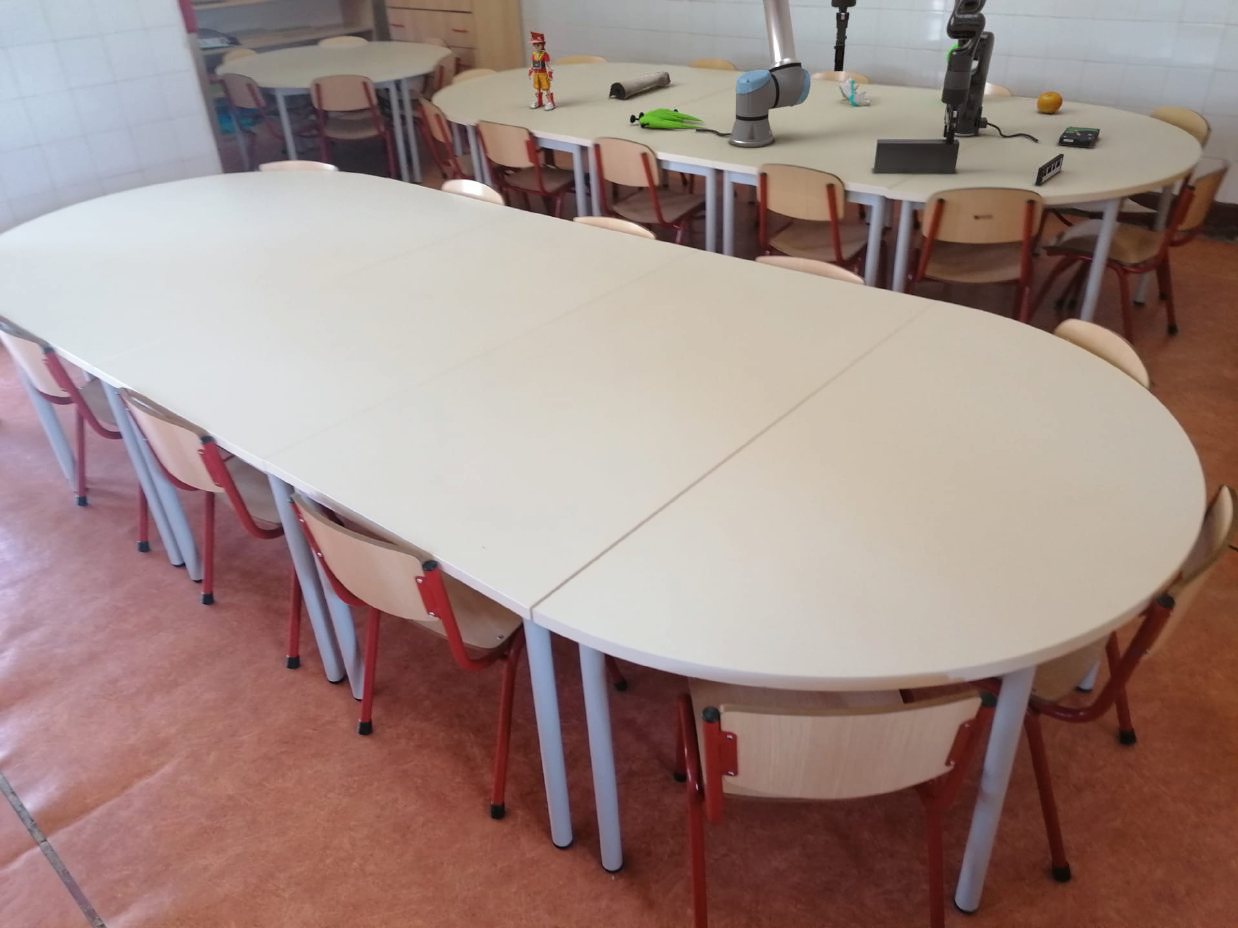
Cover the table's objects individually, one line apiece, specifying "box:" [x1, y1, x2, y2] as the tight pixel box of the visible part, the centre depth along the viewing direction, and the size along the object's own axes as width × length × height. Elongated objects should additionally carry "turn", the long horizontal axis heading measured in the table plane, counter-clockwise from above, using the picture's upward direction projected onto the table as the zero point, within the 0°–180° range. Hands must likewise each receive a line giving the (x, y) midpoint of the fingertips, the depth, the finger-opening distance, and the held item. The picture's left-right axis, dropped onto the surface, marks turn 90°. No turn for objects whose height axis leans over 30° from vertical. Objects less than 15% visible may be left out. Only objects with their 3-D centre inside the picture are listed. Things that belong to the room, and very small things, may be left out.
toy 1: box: [527, 31, 556, 111], centre depth 374 cm, size 12×9×30 cm
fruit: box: [1036, 91, 1064, 114], centre depth 334 cm, size 8×8×8 cm
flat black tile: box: [1035, 153, 1065, 186], centre depth 273 cm, size 18×1×5 cm, turn 138°
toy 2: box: [629, 107, 705, 129], centre depth 347 cm, size 28×5×30 cm
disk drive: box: [1057, 126, 1101, 148], centre depth 303 cm, size 10×3×15 cm
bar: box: [873, 138, 960, 174], centre depth 285 cm, size 25×4×9 cm, turn 78°
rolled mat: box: [608, 71, 672, 101], centre depth 395 cm, size 30×9×10 cm
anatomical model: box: [838, 76, 872, 107], centre depth 360 cm, size 15×10×10 cm
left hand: (838, 66), depth 285 cm, fingers open, 13 cm apart
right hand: (947, 140), depth 280 cm, fingers open, 8 cm apart
